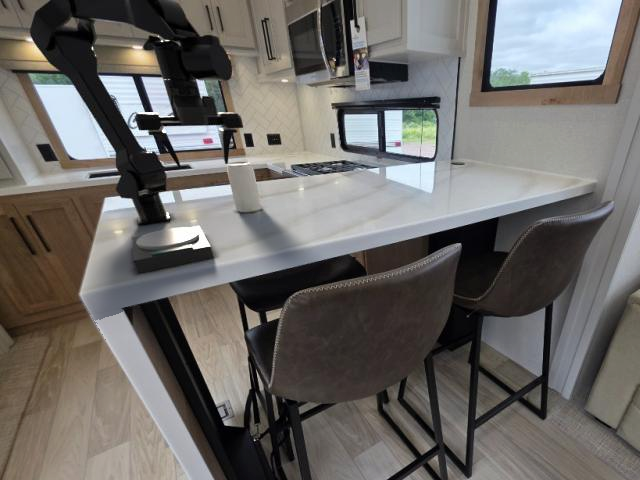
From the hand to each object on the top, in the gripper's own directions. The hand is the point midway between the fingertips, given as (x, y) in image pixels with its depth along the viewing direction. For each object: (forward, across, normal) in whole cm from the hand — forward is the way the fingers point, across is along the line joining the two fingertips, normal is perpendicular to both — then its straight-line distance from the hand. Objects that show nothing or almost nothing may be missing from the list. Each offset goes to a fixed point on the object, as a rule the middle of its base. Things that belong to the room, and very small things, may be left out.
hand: (203, 165), depth 72 cm
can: (+14, +9, +10) cm, 19 cm away
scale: (+14, -10, -13) cm, 22 cm away
